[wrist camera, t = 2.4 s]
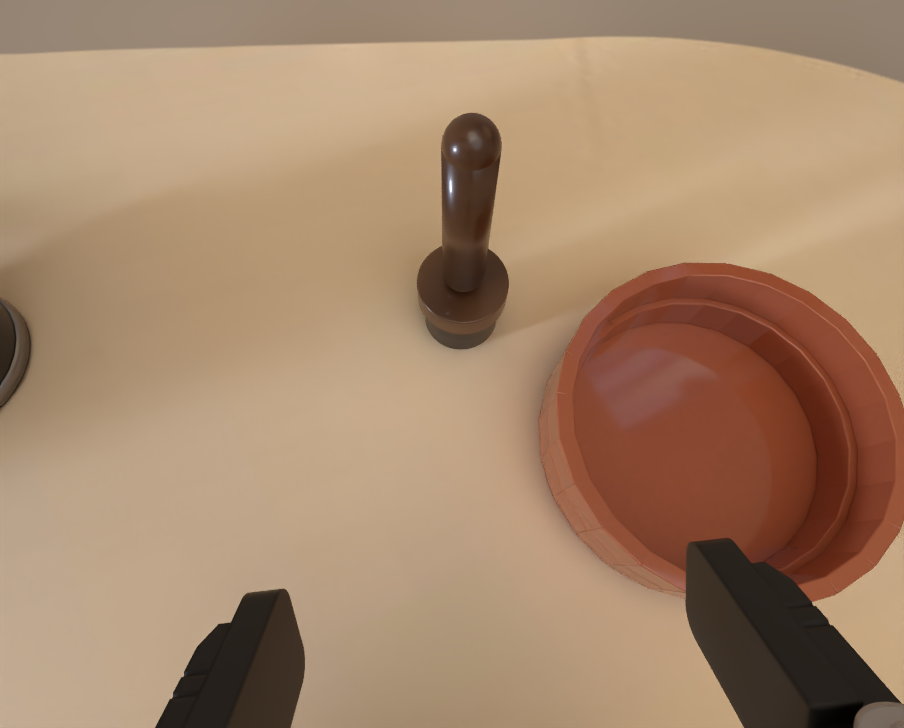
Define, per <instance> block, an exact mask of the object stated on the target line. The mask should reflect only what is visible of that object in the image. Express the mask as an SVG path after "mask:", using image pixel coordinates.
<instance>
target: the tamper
mask: <svg viewBox="0 0 904 728" xmlns="http://www.w3.org/2000/svg"><path fill="white" fill-rule="evenodd" d="M501 147H502V142H501V137H500V133H499V131H498V129H497V127H496V126H495V124H494V123H493V122H492V121H491V120H490V119H488V118H487V117H485V116H483V115H481V114H477V113H467V114H463V115H461V116H458V117H457V118H455V119H454V120H453V121H452V122H451V123H450V124H449V125H448V126H447V128H446V130H445V132H444V134H443V137H442V144H441V161H442V246H441V247H439V248H438V249H436V250H434V251H433V252H432V253H431V254H430V255H429V256H427V258H426V259H425V260H424V262H423V263H422V265H421V267H420V269H419V272H418V276H417V289H418V299H419V304H420V307H421V309H422V311H423V313H424V315H425V319H426V325H427V327H428V330H429V332H430V333H431V335H432V336H433V337H434V338H435V339H436V340H437V341H438V342H440V343H441V344H443V345H445V346H447V347H450V348H454V349H468V348H472V347H475V346H477V345H479V344H481V343H483V342H484V341H485V340H486V339H487V338H488V337H489V336H490V335H491V333H492V331H493V329H494V327H495V323H496V320H497V319H498V317H499V316H500V315H501V313H502V311H503V309H504V306H505V302H506V298H507V294H508V288H509V279H508V274H507V271H506V268H505V266H504V264H503V263H502V261H501V260H500V259H499V257H498V256H497V255H496V254H495V253H493V252H492V251H491V250H489V249H488V244H489V237H490V229H491V222H492V215H493V207H494V200H495V193H496V185H497V178H498V171H499V163H500V156H501Z"/></svg>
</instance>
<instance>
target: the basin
mask: <svg viewBox="0 0 904 728" xmlns="http://www.w3.org/2000/svg"><path fill="white" fill-rule="evenodd" d="M899 396H900V395H899V393H898V391H897V389H896V388H895V386H894V384H893V382H892V380H891V379H890V377H889V375H888V373H887V371H886V370H885V368H884V366H883V364H882V362H881V361H880V359H879V357H878V356H877V354H876V353H875V352H874V351H873V349H872V348H871V347H870V346H869V345H868V344H867V343H866V341H865V340H864V339H863V338H862V337H861V336H860V335H859V333H858V332H857V331H856V330H855V329H854V328H853V327H852V325H851V324H850V323H849V322H848V321H846V319H845V318H843V317H842V316H841V315H839V314H838V313H837V312H835V311H834V310H833V309H831V308H830V307H829V306H827V305H826V304H825V303H824V302H822V301H821V300H820V299H818V298H817V297H816V296H814V295H813V294H812V293H810V292H808V291H806V290H804V289H802V288H800V287H798V286H796V285H793V284H791V283H789V282H787V281H785V280H783V279H781V278H779V277H777V276H775V275H772V274H768V273H766V272H761V271H757V270H753V269H749V268H745V267H740V266H736V265H732V264H726V263H682V264H678V265H673V266H669V267H665V268H660V269H656V270H652V271H648V272H646V273H644V274H642V275H640V276H638V277H636V278H634V279H632V280H631V281H629V282H627V283H625V284H623V285H621V286H619V287H618V288H616V289H614V290H613V291H611V292H610V293H609V294H608V295H607V296H606V297H605V298H604V299H603V300H602V301H601V302H600V303H599V304H598V305H597V306H595V307H594V308H593V309H592V310H591V311H590V312H589V313H588V314H587V315H586V316H585V318H584V319H583V321H582V322H581V324H580V326H579V328H578V329H577V331H576V333H575V335H574V336H573V338H572V340H571V342H570V343H569V345H568V347H567V349H566V350H565V352H564V354H563V356H562V357H561V359H560V361H559V363H558V365H557V366H556V368H555V370H554V372H553V374H552V375H551V377H550V379H549V381H548V383H547V386H546V390H545V395H544V399H543V403H542V408H541V412H540V417H539V429H540V451H541V459H542V463H543V466H544V469H545V472H546V475H547V479H548V482H549V485H550V488H551V491H552V495H553V496H554V499H555V500H556V502H557V503H558V505H559V507H560V508H561V510H562V512H563V513H564V515H565V516H566V518H567V520H568V521H569V523H570V525H571V526H572V528H573V529H574V531H575V532H576V534H577V535H578V536H579V537H580V538H581V539H582V540H583V541H584V542H585V543H586V544H587V545H588V546H589V547H590V548H591V549H592V550H593V551H594V552H595V553H596V554H597V555H598V556H599V557H600V558H601V559H602V560H603V561H604V562H605V563H606V564H608V565H609V566H611V567H612V568H614V569H616V570H617V571H619V572H621V573H623V574H624V575H626V576H628V577H629V578H631V579H633V580H634V581H636V582H638V583H639V584H641V585H643V586H644V587H647V588H649V589H653V590H656V591H660V592H663V593H667V594H670V595H673V596H677V597H680V598H684V599H686V551H687V545H688V543H689V542H695V541H703V540H711V539H720V538H730V539H732V540H733V541H734V542H735V543H736V544H737V546H738V547H739V548H740V549H741V551H742V552H743V553H744V554H745V556H746V557H747V558H748V559H749V561H750V562H751V563H758V562H766V563H768V564H769V565H771V566H772V567H774V568H775V569H777V570H779V571H780V572H782V573H783V574H785V575H786V576H788V577H789V578H791V579H792V580H793V581H794V582H795V583H796V584H797V585H798V586H799V588H800V589H801V590H802V591H803V592H804V593H805V594H806V596H807V597H808V598H809V599H810V600H811V601H812V602H814V601H817V600H820V599H824V598H827V597H830V596H834V595H836V594H837V593H839V592H841V591H842V590H844V589H845V588H846V587H848V586H849V585H850V584H852V583H853V582H855V581H856V580H857V579H859V578H860V577H862V576H863V575H864V574H866V573H867V572H869V571H870V570H871V569H873V568H874V567H875V566H876V565H877V563H878V562H879V560H880V559H881V558H882V556H883V555H884V553H885V552H886V550H887V549H888V548H889V546H890V545H891V543H892V542H893V540H894V539H895V538H896V536H897V535H898V533H899V532H900V529H901V527H902V524H903V520H904V408H903V404H902V401H901V398H900V397H899Z"/></svg>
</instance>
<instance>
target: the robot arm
mask: <svg viewBox="0 0 904 728" xmlns="http://www.w3.org/2000/svg"><path fill="white" fill-rule="evenodd" d="M29 344H30V342H29V334H28V330H27V327H26V324H25V322H24V320H23V318H22V317H21V315H20V314H19V312H18V311H17V310H16V309H15V308H14V307H13V306H12V305H10V304H9V303H7V302H6V301H4V300H3V299H1V298H0V407H1V406H2V405H3V404H4V403H5V402H6V400H7V399H8V398H9V397H10V395H11V394H12V393H13V391H14V390H15V388H16V387H17V385H18V383H19V382H20V380H21V378H22V376H23V373H24V371H25V368H26V365H27V361H28V357H29ZM686 612H687V617H688V621H689V625H690V628H691V630H692V633H693V635H694V638H695V640H696V641H697V643H698V645H699V647H700V649H701V650H702V652H703V654H704V656H705V658H706V660H707V661H708V663H709V665H710V667H711V669H712V670H713V672H714V674H715V676H716V678H717V679H718V681H719V683H720V685H721V687H722V688H723V690H724V692H725V694H726V696H727V697H728V699H729V701H730V703H731V705H732V706H733V708H734V710H735V712H736V714H737V715H738V717H739V719H740V721H741V723H742V724H743V726H744V728H904V704H902V703H901V702H900V701H899V700H898V699H897V698H896V697H895V696H894V695H893V693H892V692H891V691H890V690H889V689H888V688H887V687H886V685H885V684H884V683H883V682H882V681H881V680H880V679H879V677H878V676H877V675H876V674H875V673H874V672H873V671H872V669H871V668H870V667H869V666H868V665H867V664H866V663H865V662H864V660H863V659H862V658H861V657H860V656H859V655H858V654H857V652H856V651H855V650H854V649H853V648H852V647H851V646H850V644H849V643H848V642H847V641H846V640H845V639H844V638H843V636H842V635H841V634H840V633H839V632H838V631H837V630H836V629H835V627H834V626H833V625H830V624H829V622H828V619H827V618H826V617H825V616H824V615H823V614H822V613H821V611H820V610H819V609H818V608H817V607H816V606H813V605H812V601H811V600H810V599H809V598H808V597H807V596H806V594H805V593H804V592H803V591H802V590H801V589H800V588H799V586H798V585H797V584H796V583H795V582H794V581H793V580H792V579H791V578H789V577H788V576H786V575H785V574H783V573H782V572H780V571H779V570H777V569H775V568H774V567H772V566H771V565H769V564H768V563H766V562H758V563H751V562H750V561H749V559H748V558H747V557H746V556H745V554H744V553H743V552H742V551H741V549H740V548H739V547H738V546H737V544H736V543H735V542H734V541H733V540H732V539H730V538H720V539H711V540H703V541H695V542H689V543H688V545H687V551H686ZM304 670H305V655H304V647H303V643H302V640H301V636H300V632H299V629H298V625H297V621H296V618H295V614H294V611H293V607H292V603H291V600H290V596H289V594H288V592H287V590H285V589H277V590H268V591H260V592H251V593H247V594H245V595H244V597H243V598H242V600H241V602H240V604H239V606H238V608H237V611H236V613H235V615H234V617H233V619H232V621H231V623H224V624H218V625H217V626H216V627H215V629H214V630H213V631H212V632H211V633H210V634H209V635H208V636H207V637H206V638H205V639H204V640H203V641H202V642H201V643H200V644H199V645H198V646H197V648H196V650H195V652H194V654H193V656H192V658H191V660H190V662H189V663H188V665H187V667H186V669H185V671H184V677H181V679H180V681H179V683H178V685H177V687H176V689H175V690H174V692H173V698H172V699H170V700H169V702H168V704H167V706H166V708H165V710H164V712H163V714H162V716H161V717H160V719H159V721H158V723H157V725H156V727H155V728H290V727H291V724H292V720H293V716H294V713H295V709H296V705H297V702H298V698H299V694H300V691H301V687H302V683H303V678H304Z"/></svg>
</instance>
